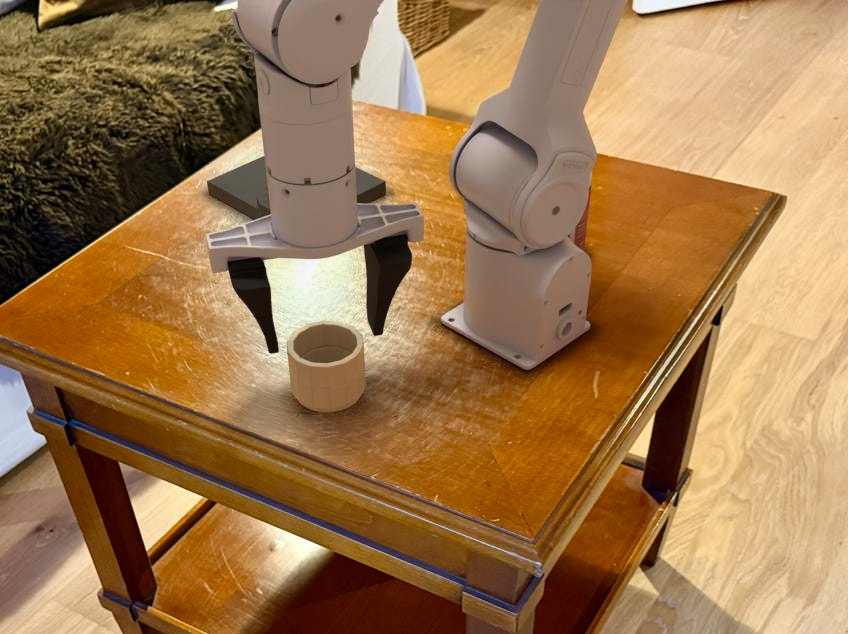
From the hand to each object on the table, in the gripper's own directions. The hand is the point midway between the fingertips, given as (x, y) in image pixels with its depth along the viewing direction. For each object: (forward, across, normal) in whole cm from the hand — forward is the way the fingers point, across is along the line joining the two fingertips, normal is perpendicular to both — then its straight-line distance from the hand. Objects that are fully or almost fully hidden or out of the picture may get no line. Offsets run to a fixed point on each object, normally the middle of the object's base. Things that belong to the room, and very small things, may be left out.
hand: (323, 336), depth 74 cm
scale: (+5, -3, -31) cm, 31 cm away
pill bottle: (+5, -23, -13) cm, 27 cm away
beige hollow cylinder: (+5, 0, 0) cm, 5 cm away
